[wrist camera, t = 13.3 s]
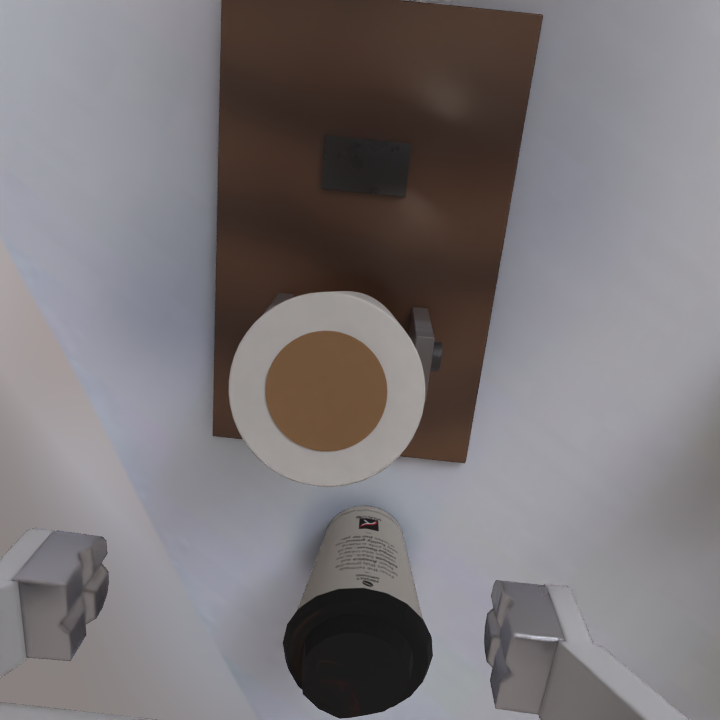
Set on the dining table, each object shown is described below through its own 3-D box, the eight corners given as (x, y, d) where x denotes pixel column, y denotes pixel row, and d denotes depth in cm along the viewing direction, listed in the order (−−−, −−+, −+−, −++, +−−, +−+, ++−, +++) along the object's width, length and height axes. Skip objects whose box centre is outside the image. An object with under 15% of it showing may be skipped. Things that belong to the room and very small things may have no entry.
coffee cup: (356, 465, 36) (345, 583, 26) (448, 535, 37) (468, 672, 27) (282, 543, 38) (246, 679, 28) (371, 606, 39) (365, 757, 29)
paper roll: (296, 285, 29) (236, 281, 16) (408, 297, 29) (436, 303, 16) (286, 395, 30) (219, 477, 17) (396, 407, 30) (413, 498, 17)
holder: (225, -16, 28) (187, -51, 23) (540, 16, 28) (575, -12, 22) (215, 431, 35) (184, 483, 30) (464, 458, 35) (477, 515, 30)
